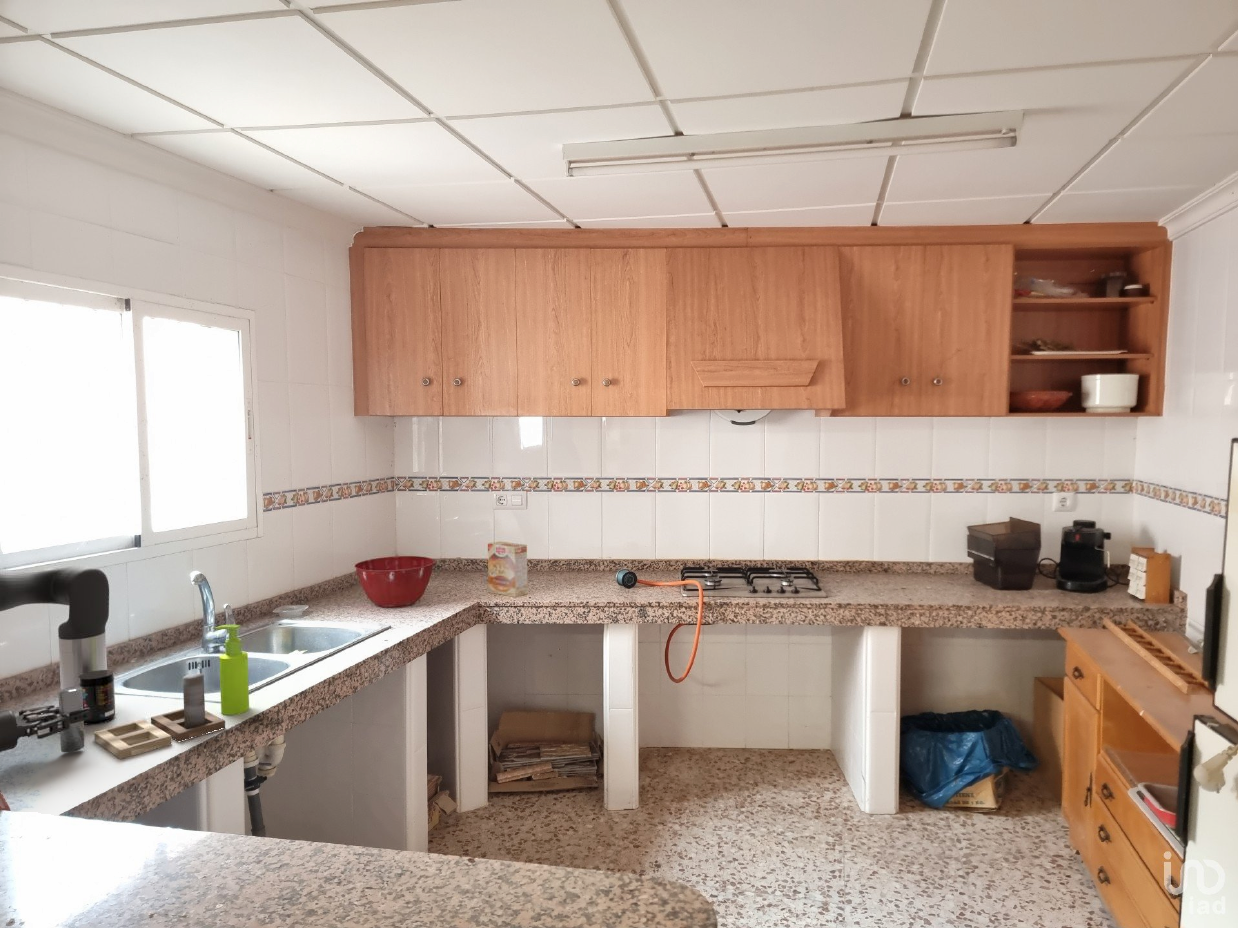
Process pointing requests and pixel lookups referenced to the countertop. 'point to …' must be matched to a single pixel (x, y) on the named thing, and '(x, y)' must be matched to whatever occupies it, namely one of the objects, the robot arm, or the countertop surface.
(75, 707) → the pin
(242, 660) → the soap dispenser
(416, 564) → the mixing bowl
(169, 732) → the pattern plate
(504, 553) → the coffeecake box
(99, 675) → the supplement container
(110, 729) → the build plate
